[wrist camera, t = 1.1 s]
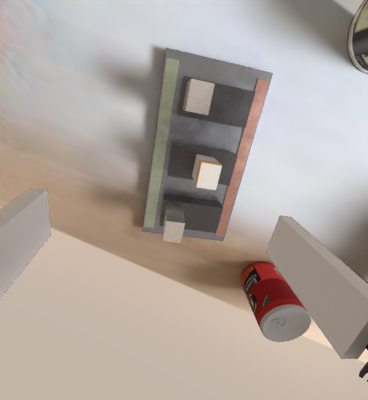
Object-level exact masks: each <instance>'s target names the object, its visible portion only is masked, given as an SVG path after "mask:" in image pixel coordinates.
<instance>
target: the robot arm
mask: <svg viewBox="0 0 368 400" xmlns="http://www.w3.org/2000/svg"><path fill="white" fill-rule="evenodd" d="M50 236H51V231H50V217H49V204H48V190H43V189H34V188H31V189H29V190H28V191H26V192H25V193H23V194H22V195H21V196H19V197H18V198H16V199H15V200H13V201H12V202H10V203H9V204H8V205H6V206H5V207H3V208H2V209H0V299H1V297H2V296H3V295H4V294H5V293H6V291H7V290H8V289H9V288H10V286H11V285H12V284H13V282H14V281H15V280H16V279H17V277H18V276H19V275H20V274H21V272H22V271H23V270H24V269H25V267H26V266H27V265H28V264H29V262H30V261H31V260H32V258H33V257H34V256H35V255H36V253H37V252H38V251H39V250H40V248H41V247H42V246H43V245H44V243H45V242H46V241H47V239H48V238H49V237H50ZM266 253H267V255H268V256H269V258H270V259H271V260H272V262H273V263H274V265H275V266H276V268H277V269H278V270H279V272H280V273H281V275H282V276H283V277H284V279H285V280H286V282H287V283H288V284H289V286H290V287H291V289H292V290H293V292H294V293H295V294H296V296H297V297H298V299H299V300H300V301H301V303H302V304H303V306H304V307H305V308H306V310H307V311H308V313H309V314H310V315H311V317H312V318H313V320H314V321H315V323H316V324H317V325H318V327H319V328H320V330H321V331H322V332H323V334H324V335H325V337H326V338H327V339H328V341H329V342H330V344H331V345H332V347H333V348H334V349H335V351H336V352H337V354H338V355H339V356H340V358H341V359H352V358H353V359H358V358H359V356H360V355H361V354H362V352H363V351H364V350H365V348H366V349H367V350H368V283H367V282H366V281H364V280H363V278H362V277H360V276H359V275H358V274H357V273H356V272H355V271H353V270H352V269H350V268H349V267H348V266H347V265H346V264H344V263H343V262H342V261H341V260H340V259H339V258H338V257H336V256H335V255H334V254H333V253H332V252H331V251H330V250H328V249H327V248H326V247H325V246H324V245H323V244H322V243H320V242H319V241H318V240H317V239H316V238H315V237H314V236H312V235H311V234H310V233H309V232H308V231H307V230H306V229H304V228H303V227H302V226H301V225H300V224H299V223H298V222H296V221H295V220H294V219H293V218H292V217H288V216H279V219H278V222H277V224H276V227H275V229H274V232H273V235H272V237H271V240H270V242H269V245H268V248H267V250H266ZM366 373H368V362H367V363H366V365H365V366H364V367H363V369H362V370H361V371H360V373H359V376H360V377H361V378H363V377H364V375H365V374H366ZM367 381H368V380H367Z"/></svg>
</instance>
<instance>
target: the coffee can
mask: <svg viewBox="0 0 368 400" xmlns="http://www.w3.org/2000/svg"><path fill="white" fill-rule="evenodd" d="M348 49H349V54H350V57H351V60H352V62H353V64H354V65H355V66H356V67H357V68H358V69H359V70H361V71H362V72H364V73H368V0H364V1H363V3H362V4H361V5H360V7H359V9H358V10H357V12H356V14H355V16H354V18H353V21H352V24H351V27H350V31H349V39H348Z"/></svg>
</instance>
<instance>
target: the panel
mask: <svg viewBox="0 0 368 400" xmlns="http://www.w3.org/2000/svg"><path fill="white" fill-rule="evenodd" d="M272 75H273V73H270V72H266V71H261V70H257V69H253V68H249V67H245V66H240V65H236V64H232V63H228V62H224V61H219V60H215V59H211V58H207V57H203V56H198V55H194V54H190V53H186V52H182V51H177V50H173V49H169V48H166V54H165V62H164V69H163V77H162V85H161V92H160V100H159V107H158V115H157V123H156V130H155V138H154V145H153V153H152V161H151V168H150V176H149V183H148V191H147V199H146V206H145V214H144V221H143V229H142V231H144V232H152V233H160V234H163V241H166V242H175V243H181V241H182V236H186V237H194V238H202V239H211V240H219V241H223V240H224V236H225V233H226V230H227V226H228V223H229V220H230V216H231V213H232V209H233V206H234V203H235V199H236V196H237V193H238V189H239V186H240V182H241V179H242V176H243V172H244V169H245V166H246V162H247V159H248V155H249V152H250V149H251V145H252V142H253V139H254V135H255V132H256V128H257V125H258V122H259V118H260V115H261V112H262V108H263V105H264V101H265V98H266V95H267V91H268V88H269V85H270V81H271V78H272ZM196 154H199V155H205V156H210V157H214V158H215V159H216V160H217V161H218V162H219V163H221V164H222V168H221V172H220V176H219V180H218V184H217V188H216V190H211V189H204V188H197V187H195V182H194V180H193V177H192V173H193V168H194V163H195V158H196Z"/></svg>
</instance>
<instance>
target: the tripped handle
mask: <svg viewBox="0 0 368 400" xmlns="http://www.w3.org/2000/svg"><path fill="white" fill-rule="evenodd" d="M221 168H222V164H221V163H219V162H218V161H217V160H216V159H215V158H214V157H210V156H205V155H199V154H196V158H195V163H194V168H193V173H192V177H193V180H194V182H195V187H197V188H204V189H211V190H216V188H217V184H218V180H219V176H220V172H221Z"/></svg>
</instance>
